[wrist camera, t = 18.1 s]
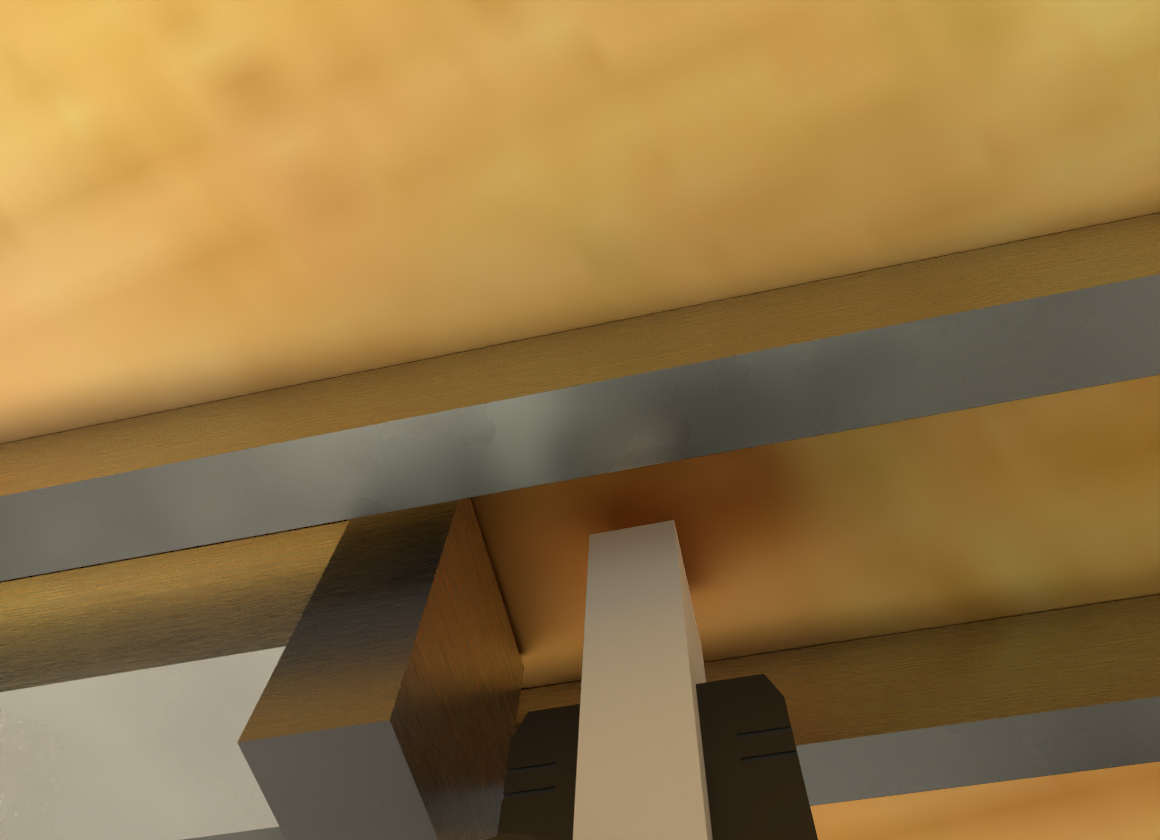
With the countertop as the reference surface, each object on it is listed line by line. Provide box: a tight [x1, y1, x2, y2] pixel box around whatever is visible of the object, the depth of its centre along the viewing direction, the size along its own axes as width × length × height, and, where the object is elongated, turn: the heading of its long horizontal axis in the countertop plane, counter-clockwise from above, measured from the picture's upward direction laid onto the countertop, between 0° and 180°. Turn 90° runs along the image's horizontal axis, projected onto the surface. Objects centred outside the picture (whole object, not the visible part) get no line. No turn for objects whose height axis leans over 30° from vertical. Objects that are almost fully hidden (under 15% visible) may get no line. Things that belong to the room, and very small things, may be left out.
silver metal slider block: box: [0, 498, 524, 840], centre depth 15 cm, size 12×4×6 cm, turn 103°
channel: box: [0, 213, 1160, 840], centre depth 15 cm, size 38×9×6 cm, turn 103°
